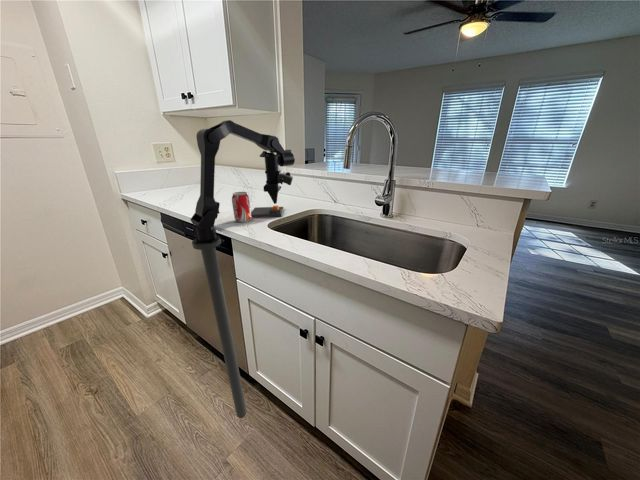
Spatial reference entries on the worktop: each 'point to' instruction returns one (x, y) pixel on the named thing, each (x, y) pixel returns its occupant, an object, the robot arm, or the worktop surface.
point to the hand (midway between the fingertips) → (275, 203)
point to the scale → (266, 212)
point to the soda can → (241, 206)
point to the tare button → (275, 207)
